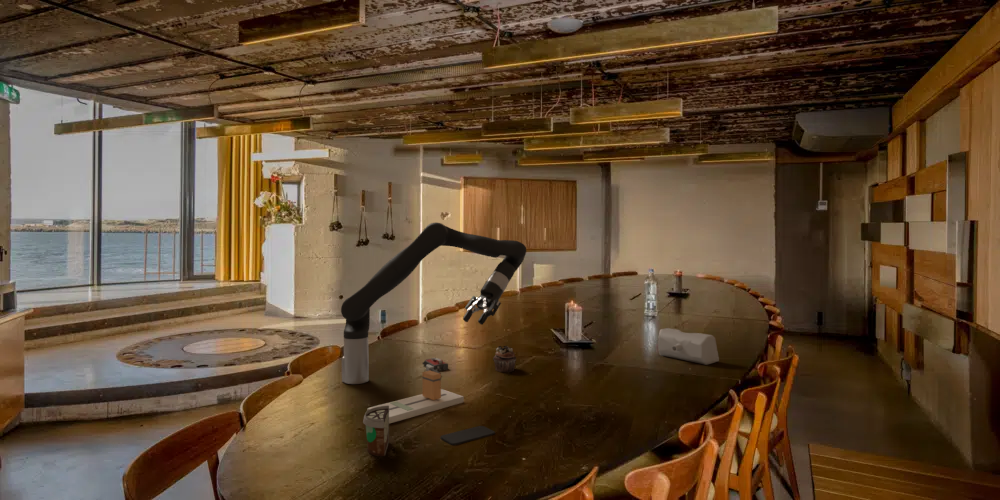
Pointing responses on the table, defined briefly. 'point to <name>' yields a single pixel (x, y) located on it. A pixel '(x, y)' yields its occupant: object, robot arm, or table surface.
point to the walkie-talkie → (435, 365)
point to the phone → (467, 435)
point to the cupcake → (504, 359)
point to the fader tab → (431, 384)
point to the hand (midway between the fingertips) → (472, 321)
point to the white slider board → (419, 405)
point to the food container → (377, 430)
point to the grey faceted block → (688, 346)
